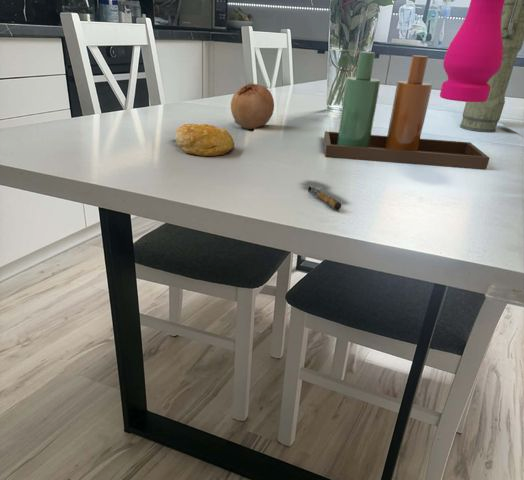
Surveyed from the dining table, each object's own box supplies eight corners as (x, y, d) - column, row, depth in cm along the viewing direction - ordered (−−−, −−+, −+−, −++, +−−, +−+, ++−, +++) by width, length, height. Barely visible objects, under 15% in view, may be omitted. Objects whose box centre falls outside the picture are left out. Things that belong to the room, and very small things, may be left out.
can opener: (341, 210, 64) (342, 202, 63) (325, 211, 63) (326, 202, 63) (317, 190, 71) (318, 182, 70) (302, 190, 70) (303, 182, 70)
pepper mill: (496, 104, 62) (556, -105, 51) (439, 100, 63) (485, -107, 52) (485, 96, 68) (537, -93, 57) (432, 93, 69) (473, -94, 58)
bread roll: (245, 154, 87) (246, 126, 84) (188, 159, 82) (187, 129, 79) (220, 142, 93) (220, 115, 91) (166, 146, 88) (165, 118, 86)
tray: (466, 156, 96) (470, 142, 94) (485, 173, 85) (489, 157, 84) (323, 145, 97) (324, 131, 95) (324, 160, 86) (326, 145, 85)
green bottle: (366, 148, 93) (382, 52, 84) (369, 156, 89) (387, 54, 79) (335, 146, 94) (348, 50, 85) (337, 153, 89) (351, 52, 80)
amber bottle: (413, 152, 93) (434, 56, 84) (418, 160, 88) (442, 58, 79) (382, 150, 93) (400, 53, 84) (385, 157, 88) (405, 56, 79)
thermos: (488, 125, 128) (539, -45, 107) (502, 134, 118) (561, -51, 98) (454, 122, 128) (499, -47, 108) (465, 131, 118) (516, -53, 98)
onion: (247, 146, 106) (240, 103, 97) (227, 125, 110) (218, 82, 102) (284, 127, 107) (279, 84, 99) (263, 108, 112) (257, 64, 103)
